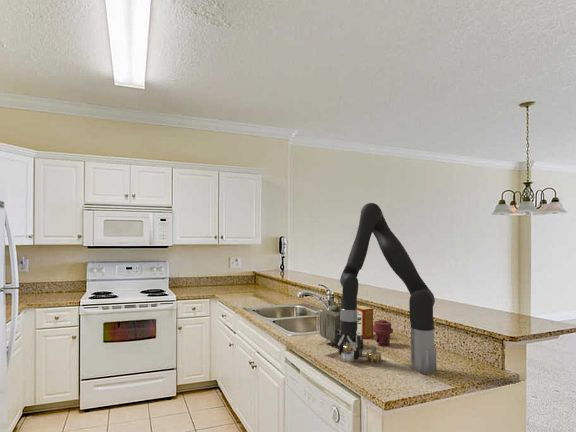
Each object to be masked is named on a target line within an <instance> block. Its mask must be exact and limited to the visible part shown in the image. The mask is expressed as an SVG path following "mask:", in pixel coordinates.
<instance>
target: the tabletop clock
mask: <svg viewBox="0 0 576 432" xmlns="http://www.w3.org/2000/svg"><path fill="white" fill-rule="evenodd" d="M332 298H335V299H337V301H338V302H337V301H332ZM329 300H330V303H331V304H333V305H330V307H329V309H326V310H324V309H323V310H322V311H321V312H320V314H319V319H318V320H319V324H318V325H319V335H320V337H322V338H324V339H326V340H328V341H329V342H330V344H329V346H331V347H332V346H333V343H335V331H336V330H338V329H340V312H341V307H340V306H339V304H340V303H341V300H340V298H339V297H338V296H336V295H331V297H330V299H329ZM340 330H341V329H340ZM341 337H342V336H341Z"/></svg>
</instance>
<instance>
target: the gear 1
mask: <svg viewBox="0 0 576 432" xmlns="http://www.w3.org/2000/svg"><path fill="white" fill-rule="evenodd" d="M343 345H344V351H353V352H354V348H353V346H351V344H350V346H346V342H345V343H344V344H343Z"/></svg>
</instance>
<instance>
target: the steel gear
mask: <svg viewBox="0 0 576 432" xmlns="http://www.w3.org/2000/svg"><path fill="white" fill-rule="evenodd" d="M341 359H342V360H343V361H346V362H354V361H355V360H356V359H354V352H353V351H343V352H342V358H341Z"/></svg>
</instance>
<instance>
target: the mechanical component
mask: <svg viewBox="0 0 576 432" xmlns="http://www.w3.org/2000/svg"><path fill="white" fill-rule="evenodd" d="M374 333H375V342H376V344H377V345H378V347H385V346H387V347H388V346H390V342H391V341H390V339H391V334H393V333H394V329H393V328H392V322H390V321H387V320H386V319H378V320H375V321H373V334H374Z"/></svg>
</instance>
